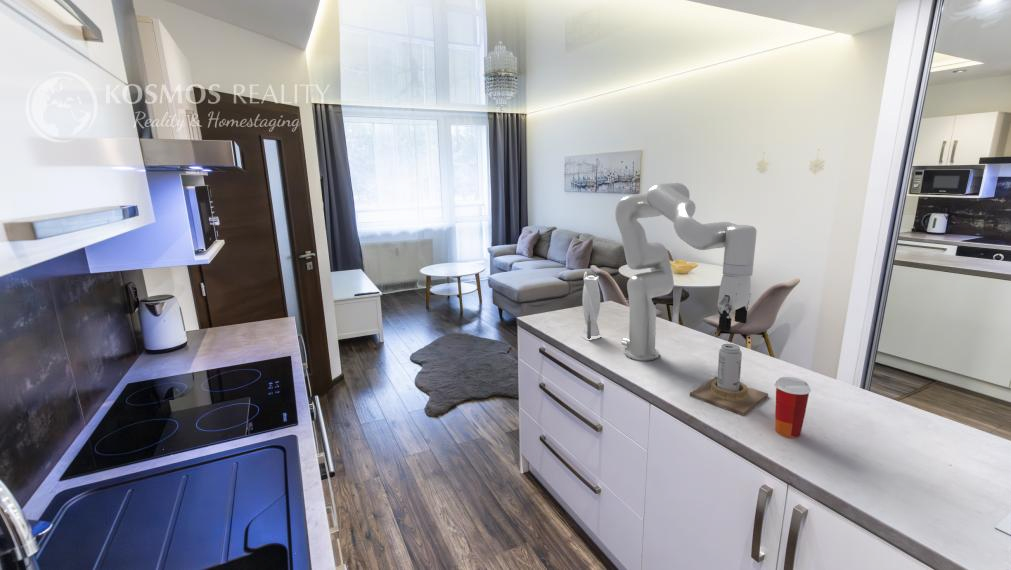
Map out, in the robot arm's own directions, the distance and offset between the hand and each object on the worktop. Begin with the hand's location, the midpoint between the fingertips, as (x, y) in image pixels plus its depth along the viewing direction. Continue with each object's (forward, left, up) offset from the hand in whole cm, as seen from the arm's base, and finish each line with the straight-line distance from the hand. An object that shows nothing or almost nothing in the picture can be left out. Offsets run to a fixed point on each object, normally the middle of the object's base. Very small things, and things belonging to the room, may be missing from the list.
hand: (732, 326), depth 129 cm
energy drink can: (0, 0, -22) cm, 22 cm away
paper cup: (+19, -8, -23) cm, 31 cm away
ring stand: (0, 0, -22) cm, 22 cm away
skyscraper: (-64, +11, -23) cm, 68 cm away
